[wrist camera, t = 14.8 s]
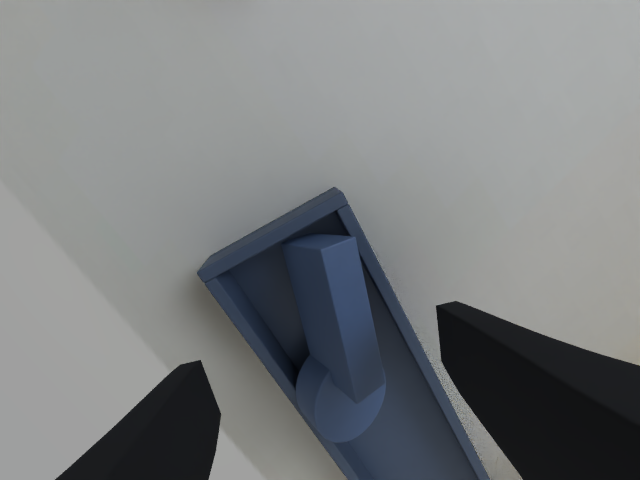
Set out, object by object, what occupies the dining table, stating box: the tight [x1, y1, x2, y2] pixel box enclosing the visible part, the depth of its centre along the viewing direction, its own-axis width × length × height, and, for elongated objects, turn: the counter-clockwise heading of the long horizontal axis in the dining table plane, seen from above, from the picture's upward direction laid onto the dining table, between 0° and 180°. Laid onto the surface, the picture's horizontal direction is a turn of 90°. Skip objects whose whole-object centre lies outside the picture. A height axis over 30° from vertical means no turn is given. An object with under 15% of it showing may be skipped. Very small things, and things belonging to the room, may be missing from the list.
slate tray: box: [197, 187, 490, 480], centre depth 15 cm, size 25×6×2 cm, turn 28°
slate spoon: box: [281, 233, 386, 443], centre depth 11 cm, size 8×4×3 cm, turn 13°
